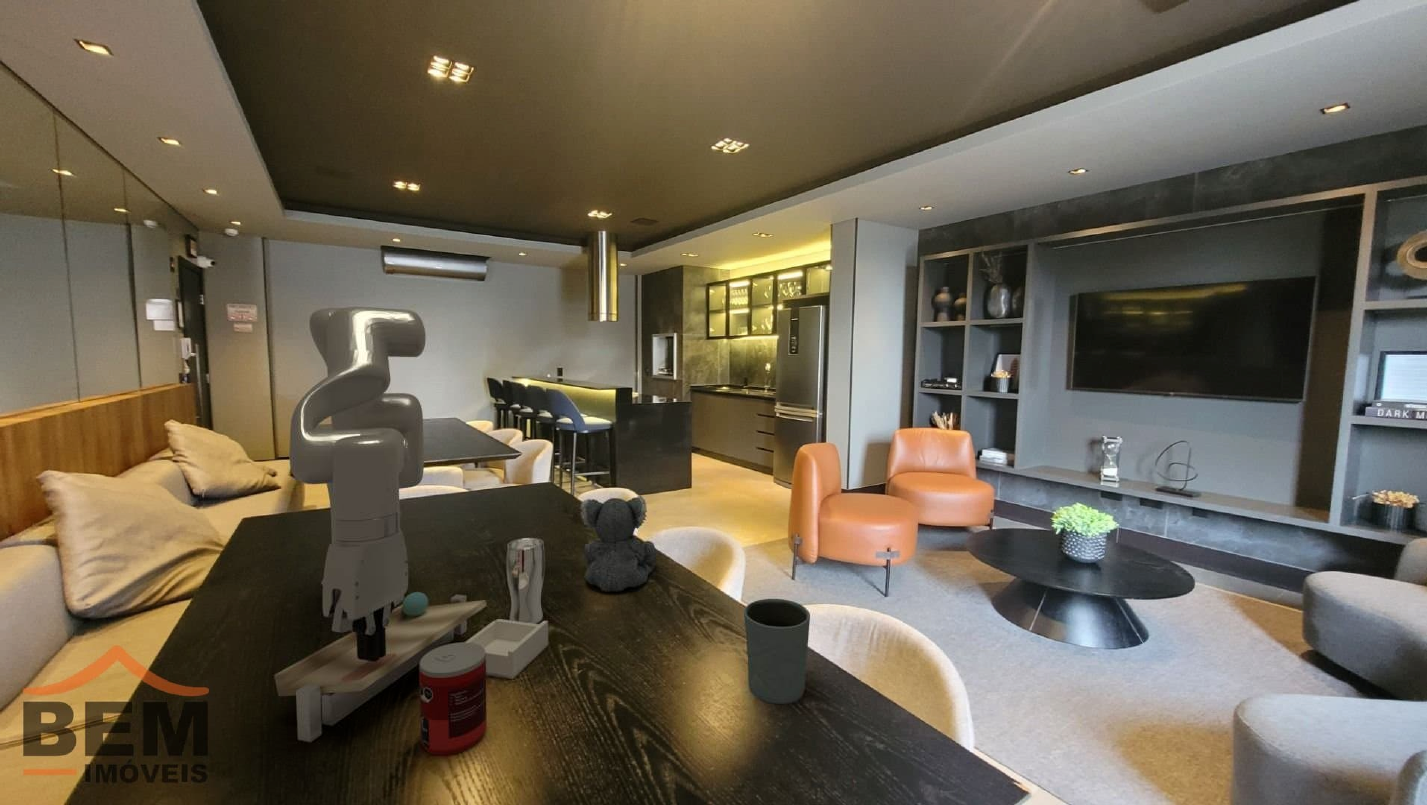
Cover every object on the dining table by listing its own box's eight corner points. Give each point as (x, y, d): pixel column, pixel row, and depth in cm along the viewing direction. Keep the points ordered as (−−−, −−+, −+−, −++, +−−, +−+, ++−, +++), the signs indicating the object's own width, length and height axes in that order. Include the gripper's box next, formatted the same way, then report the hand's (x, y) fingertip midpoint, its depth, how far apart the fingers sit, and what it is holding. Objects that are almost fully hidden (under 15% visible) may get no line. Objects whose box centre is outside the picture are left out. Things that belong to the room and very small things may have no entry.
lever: (421, 614, 100) (418, 595, 100) (487, 607, 97) (484, 588, 97) (277, 700, 74) (272, 675, 74) (361, 695, 71) (355, 669, 71)
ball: (398, 620, 94) (395, 597, 93) (415, 610, 98) (412, 588, 97) (417, 620, 93) (414, 597, 93) (434, 610, 97) (431, 588, 96)
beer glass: (533, 630, 101) (532, 550, 100) (499, 625, 103) (498, 547, 101) (551, 613, 108) (551, 539, 107) (519, 609, 109) (519, 536, 108)
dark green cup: (791, 715, 78) (794, 634, 77) (730, 692, 83) (731, 615, 82) (817, 681, 86) (820, 607, 85) (760, 661, 92) (762, 592, 91)
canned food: (435, 718, 76) (433, 642, 75) (494, 716, 76) (493, 640, 76) (409, 758, 68) (407, 673, 67) (475, 755, 69) (474, 671, 68)
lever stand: (457, 629, 101) (456, 594, 100) (466, 630, 100) (466, 595, 100) (297, 739, 71) (296, 690, 71) (310, 742, 71) (308, 693, 70)
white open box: (453, 669, 88) (453, 643, 87) (494, 637, 98) (494, 613, 98) (513, 679, 85) (512, 652, 85) (548, 645, 96) (547, 621, 95)
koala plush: (657, 565, 135) (658, 487, 133) (651, 596, 117) (652, 506, 116) (587, 564, 134) (587, 486, 133) (570, 595, 116) (569, 505, 115)
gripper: (388, 510, 82) (391, 628, 84) (292, 541, 68) (297, 684, 69) (431, 514, 81) (434, 635, 82) (342, 546, 66) (346, 692, 67)
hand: (371, 657), depth 75 cm, fingers closed
